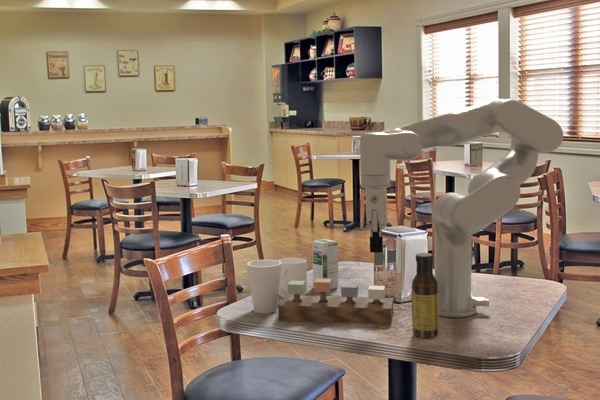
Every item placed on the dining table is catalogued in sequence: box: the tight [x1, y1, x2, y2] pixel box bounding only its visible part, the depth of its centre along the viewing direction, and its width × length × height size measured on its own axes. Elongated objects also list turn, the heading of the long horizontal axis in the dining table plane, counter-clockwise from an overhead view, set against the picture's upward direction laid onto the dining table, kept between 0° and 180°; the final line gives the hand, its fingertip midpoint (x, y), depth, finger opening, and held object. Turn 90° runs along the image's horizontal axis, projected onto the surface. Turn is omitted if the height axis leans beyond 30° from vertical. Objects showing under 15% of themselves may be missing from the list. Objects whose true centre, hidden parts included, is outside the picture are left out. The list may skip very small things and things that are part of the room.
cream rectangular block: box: [367, 285, 386, 304], centre depth 194 cm, size 4×4×7 cm
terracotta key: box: [313, 278, 333, 303], centre depth 196 cm, size 4×4×7 cm
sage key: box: [288, 281, 306, 302], centre depth 197 cm, size 4×4×7 cm
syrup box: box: [311, 238, 339, 290], centre depth 225 cm, size 6×6×14 cm
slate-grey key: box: [340, 282, 359, 303], centre depth 195 cm, size 4×4×7 cm
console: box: [277, 295, 394, 325], centre depth 196 cm, size 29×10×4 cm, turn 80°
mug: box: [278, 257, 308, 299], centre depth 216 cm, size 12×8×10 cm
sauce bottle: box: [411, 252, 440, 340], centre depth 178 cm, size 6×6×20 cm
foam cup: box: [246, 258, 282, 314], centre depth 203 cm, size 10×9×13 cm
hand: (376, 251), depth 192 cm, fingers closed
